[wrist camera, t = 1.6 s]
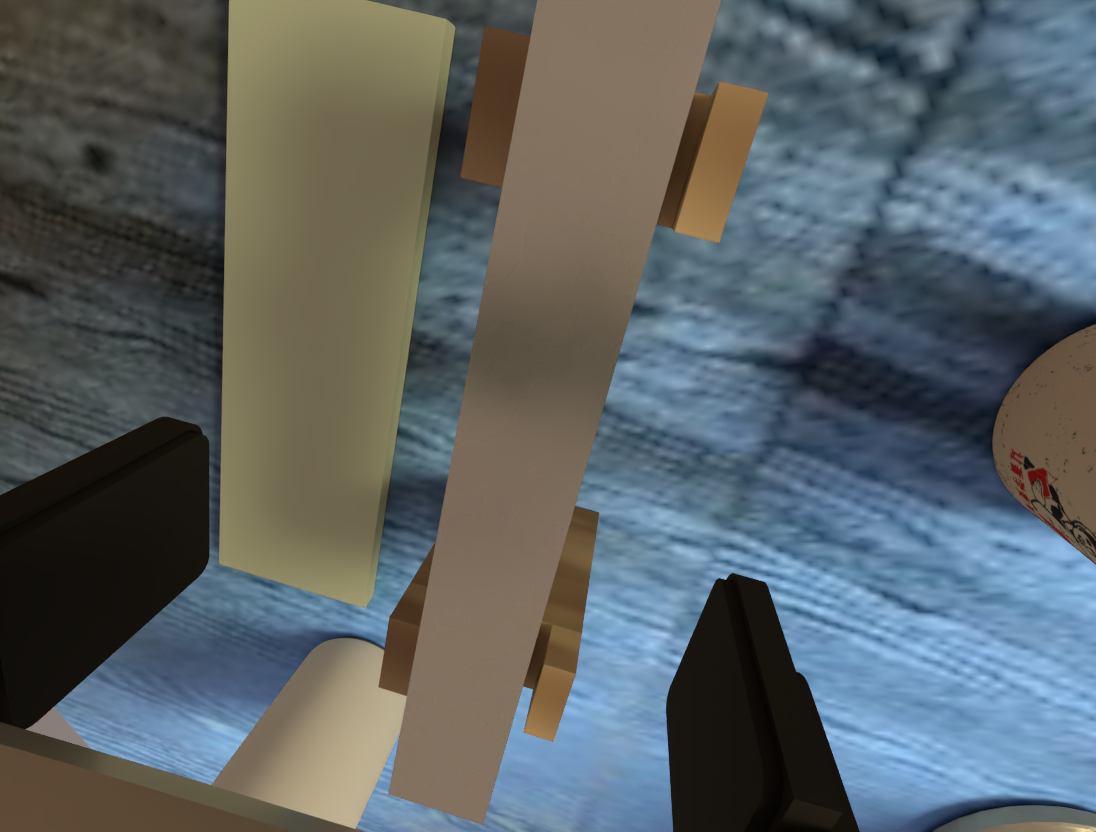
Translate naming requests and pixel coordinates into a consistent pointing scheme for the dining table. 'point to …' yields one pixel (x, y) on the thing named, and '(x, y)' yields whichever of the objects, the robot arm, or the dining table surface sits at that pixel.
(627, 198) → the rail
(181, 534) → the robot arm
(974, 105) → the dining table surface
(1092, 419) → the teacup with lid
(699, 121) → the post
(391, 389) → the mat
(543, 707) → the post
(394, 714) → the can
